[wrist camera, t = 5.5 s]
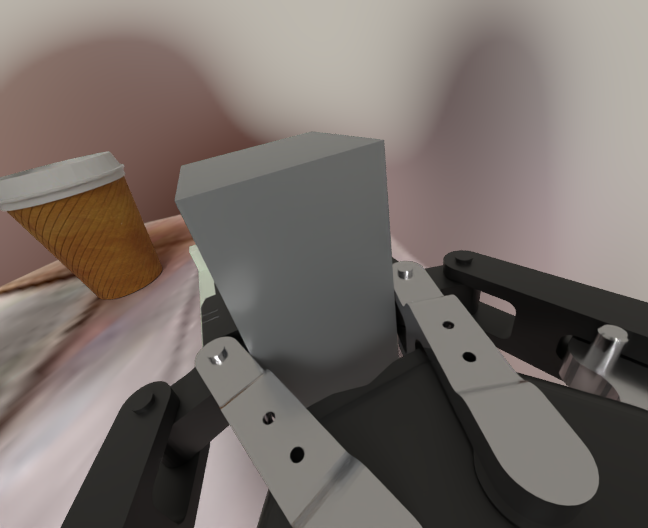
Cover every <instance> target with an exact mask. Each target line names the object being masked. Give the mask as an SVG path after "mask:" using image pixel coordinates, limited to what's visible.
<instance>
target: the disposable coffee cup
mask: <svg viewBox="0 0 648 528" xmlns="http://www.w3.org/2000/svg"><path fill="white" fill-rule="evenodd" d="M123 168H124V164H120V163H119V162H118V161H117V160H116V159H115V157H114V156H113V155H112V154H111V153H110V152H102V153H98V154H92V155H88V156H83V157H80V158H75V159H70V160H66V161H62V162H58V163H54V164H50V165H46V166H42V167H38V168H34V169H30V170H26V171H23V172H19V173H15V174H11V175H8V176H4V177H0V209H1V210H2V211H7V212H8V213H9V214H10V215H11V216H12V217H13V218H15V219H16V221H18V222H19V223H20V224H21V225H22V226H23V227H24V228H25V229H26V230H27V231H28V232H29V233H30V234H31V235H33V236H34V237H35V238H36V240H38V241H39V242H40V243H41V244H42V245H43V246H44V247H45V248H46V249H48V251H49V252H51V253H52V254H53V255H54V256H55V257H56V258H57V259H58V260H59V261H60V262H61V263H62V264H63V265H65V266H66V268H68V269H69V270H70V271H71V272H72V273H73V274H74V275H76V277H77V278H79V279H80V280H81V281H82V282H83V283H84V284H85V285H86V286H87V287H88V288H89V289H91V291H92V292H94V293H95V294H96V295H97V296H98V297H99V298H100V299H104V300H106V299H115V298H119V297H123V296H126V295H128V294H131V293H133V292H135V291H137V290H139V289H141V288H143V287H145V286H146V285H148V284H150V283H151V282H152V281H153V280H154V279H156V278H157V277H158V276H159V274H160V273H161V271H162V266H161V264H160V261H159V259H158V256H157V254H156V252H155V249H154V247H153V244H152V242H151V240H150V237H149V235H148V233H147V230H146V228H145V225H144V223H143V221H142V218H141V216H140V213H139V211H138V209H137V206H136V204H135V201H134V199H133V197H132V194H131V192H130V190H129V187H128V185H127V183H126V180H125V178H124V175H125V172H124V170H123Z"/></svg>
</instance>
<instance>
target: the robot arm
mask: <svg viewBox="0 0 648 528" xmlns="http://www.w3.org/2000/svg"><path fill="white" fill-rule="evenodd" d="M392 266H393V281H394V296H395V311H396V326H397V341H398V344H399V347H400V349H401V352H402V354H403V357H402V358H400V359H398V360H396V361H394V362H392V363H391V364H390V365H389V366H388V367H387V368H386V369H385V370H384V371H383V372H381V373H380V374H379V375H378V376H377V377H376V378H375V379H374V380H373V381H372V382H371V383H369V384H368V385H365V386H361V387H357V388H354V389H350V390H346V391H342V392H338V393H334V394H331V395H329V396H328V397H326V398H324V399H322V400H320V401H318V402H316V403H314V404H312V405H311V406H309V407H307V408H305V407H304V406H303V405H302V404H301V403H300V402H299V400H298V399H297V398H296V397H295V396H294V395H293V394H292V393H291V392H290V391H289V390H288V389H287V388H286V387H285V386H284V385H283V383H282V382H281V381H280V380H279V379H278V378H277V377H276V376H275V375H274V374H273V373H272V372H271V371H270V370H269V369H266V370H265V371H264V370H263V369H262V368H261V367H260V365H259V364H258V363H257V362H256V361H255V360H254V359H253V358H252V357H251V355H250V353H249V351H248V349H247V347H246V345H245V343H244V341H243V339H242V336H241V334H240V332H239V330H238V328H237V326H236V324H235V322H234V320H233V318H232V316H231V314H230V312H229V310H228V308H227V306H226V304H225V302H224V300H223V298H222V296H221V294H220V292H219V290H218V288H217V286H216V284H215V282H214V287H215V295H213V296H210V297H208V298H205V300H204V302H203V304H202V306H201V316H202V317H201V320H202V338H203V348H202V349H201V350H200V351H199V353H198V354H197V356H196V358H195V368H194V369H193V370H192V371H190V372H189V373H188V374H187V375H186V376H184V377H183V378H181V379H180V380H179V381H177V382H176V383H174V384H173V385H172V386H169V385H168V384H167V383H166V382H162V381H158V382H153V383H150V384H147V385H145V386H144V387H142V388H140V389H139V390H137V391H136V392H135V393H133V394H132V395H131V396H130V397H129V398H128V399H127V400H126V402H125V403H124V404H123V406H122V407H121V409H120V411H119V413H118V415H117V417H116V419H115V421H114V423H113V425H112V427H111V429H110V431H109V433H108V435H107V437H106V439H105V441H104V443H103V445H102V447H101V449H100V451H99V452H98V454H97V456H96V458H95V460H94V462H93V464H92V466H91V468H90V470H89V472H88V474H87V476H86V478H85V480H84V482H83V484H82V486H81V488H80V490H79V492H78V494H77V496H76V498H75V500H74V502H73V504H72V506H71V508H70V510H69V512H68V514H67V516H66V518H65V520H64V522H63V524H62V526H61V528H194V525H195V520H196V515H197V509H198V504H199V499H200V494H201V489H202V484H203V478H204V473H205V468H206V463H207V458H208V453H209V447H210V441H211V440H213V439H214V438H215V437H216V436H217V435H218V434H219V433H221V432H222V431H223V430H224V429H225V428H226V427H227V426H229V425H230V426H231V428H232V429H233V431H234V432H235V434H236V436H237V437H238V439H239V441H240V442H241V444H242V446H243V447H244V449H245V450H246V452H247V454H248V455H249V457H250V459H251V460H252V462H253V464H254V465H255V467H256V468H257V470H258V472H259V473H260V475H261V477H262V478H263V480H264V482H265V483H266V485H267V486H268V488H269V489H268V492H267V496H266V499H265V502H264V505H263V509H262V512H261V515H260V518H259V522H258V525H257V528H648V303H647V302H644V301H640V300H637V299H634V298H630V297H627V296H623V295H620V294H616V293H613V292H609V291H606V290H603V289H599V288H596V287H592V286H588V285H585V284H582V283H578V282H575V281H572V280H568V279H565V278H561V277H558V276H554V275H551V274H547V273H543V272H540V271H537V270H534V269H530V268H527V267H523V266H520V265H516V264H513V263H509V262H506V261H502V260H499V259H496V258H492V257H489V256H485V255H482V254H478V253H475V252H471V251H453V252H450V253H448V254H447V255H445V257H444V259H443V265H442V266H437V267H431V268H426V269H424V268H423V267H422V266H421V265H420V264H418V263H416V262H412V261H401V262H398V261H397V260H395V259H394V258H393V257H392ZM481 291H482V292H485V293H487V294H490V295H492V296H495V297H498V298H500V299H503V300H506V301H508V302H510V303H511V304H512V305H513V306H514V307H515V309H516V316H514V315H511V314H509V313H506V312H504V311H501V310H499V309H496V308H494V307H492V306H489V305H487V304H484V303H482V302H480V301H479V299H480V292H481ZM496 347H497V348H499V349H501V350H503V351H505V352H507V353H509V354H511V355H513V356H515V357H517V358H519V359H521V360H523V361H524V362H527V363H528V364H530V365H533V366H534V367H536V368H538V369H540V370H542V371H545V372H546V373H548V374H550V375H552V376H554V377H556V378H558V379H560V380H562V381H564V382H565V383H566V385H568V386H569V387H567V386H564V385H560V384H556V383H553V382H549V381H546V380H542V379H539V378H535V377H532V376H528V375H524V374H521V373H517V372H515V370H514V369H513V368H512V367H511V366H510V364H509V363H508V362H507V360H506V359H505V358H504V356H503V355H502V354H501V353H500V351H499V350H498V349H497V348H496Z"/></svg>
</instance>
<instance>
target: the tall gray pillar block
mask: <svg viewBox="0 0 648 528" xmlns="http://www.w3.org/2000/svg"><path fill="white" fill-rule="evenodd" d="M175 203H176V205H177V207H178V209H179V211H180V213H181V215H182V217H183V219H184V221H185V223H186V225H187V227H188V229H189V231H190V233H191V235H192V237H193V239H194V241H195V243H196V245H197V247H198V249H199V251H200V254H201V256H202V258H203V260H204V262H205V264H206V266H207V268H208V270H209V272H210V274H211V276H212V278H213V280H214V282H215V284H216V286H217V288H218V290H219V292H220V294H221V296H222V298H223V300H224V302H225V304H226V306H227V308H228V310H229V312H230V314H231V316H232V318H233V320H234V322H235V324H236V326H237V328H238V330H239V332H240V334H241V336H242V339H243V341H244V343H245V345H246V347H247V349H248V351H249V353H250V355H251V357H252V358H253V359H254V360H255V361H256V362H257V363H258V364H259V365H260V367H261V368H262V369H263V370H264V371H265V370H266V369H269V370H270V371H271V372H272V373H273V374H274V375H275V376H276V377H277V378H278V379H279V380H280V381H281V382H282V383H283V385H284V386H285V387H286V388H287V389H288V390H289V391H290V392H291V393H292V394H293V395H294V396H295V397H296V398H297V399H298V400H299V402H300V403H301V404H302V405H303V406H304V407H305V408H307V407H309V406H311V405H312V404H314V403H316V402H318V401H320V400H322V399H324V398H326V397H328V396H329V395H331V394H334V393H338V392H342V391H346V390H350V389H354V388H357V387H361V386H365V385H368V384H369V383H371V382H372V381H373V380H374V379H375V378H376V377H377V376H378V375H379V374H380V373H381V372H383V371H384V370H385V369H386V368H387V367H388V366H389V365H390V364H391V363H392V362H394V361H396V360H398V359H399V356H398V341H397V326H396V311H395V296H394V281H393V266H392V251H391V237H390V222H389V208H388V192H387V177H386V162H385V148H384V140H380V139H372V138H362V137H354V136H346V135H337V134H328V133H319V132H309V133H305V134H301V135H297V136H293V137H289V138H285V139H282V140H278V141H274V142H270V143H266V144H263V145H259V146H255V147H251V148H247V149H244V150H240V151H237V152H232V153H229V154H225V155H221V156H217V157H213V158H210V159H206V160H202V161H198V162H195V163H191V164H187V165H183V166H181V170H180V175H179V181H178V186H177V191H176V196H175Z"/></svg>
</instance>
